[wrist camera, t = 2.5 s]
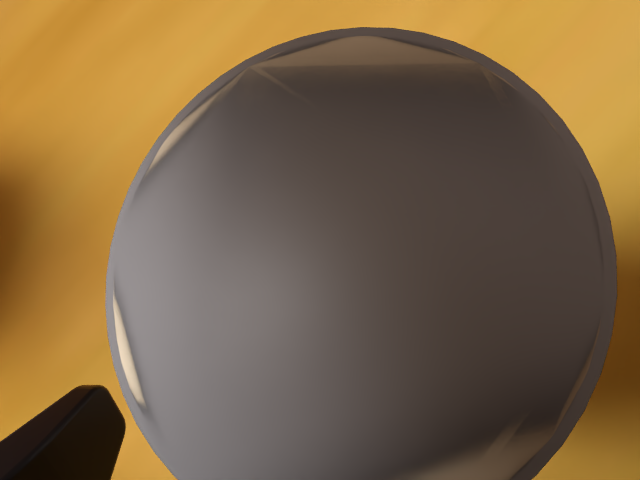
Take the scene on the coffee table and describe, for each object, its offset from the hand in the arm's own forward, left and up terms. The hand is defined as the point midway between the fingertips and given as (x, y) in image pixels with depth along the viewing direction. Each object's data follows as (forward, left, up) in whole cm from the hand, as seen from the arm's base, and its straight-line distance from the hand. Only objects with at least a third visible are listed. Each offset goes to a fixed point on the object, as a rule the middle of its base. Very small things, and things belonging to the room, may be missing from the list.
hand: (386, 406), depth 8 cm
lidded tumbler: (+1, +1, -9) cm, 9 cm away
